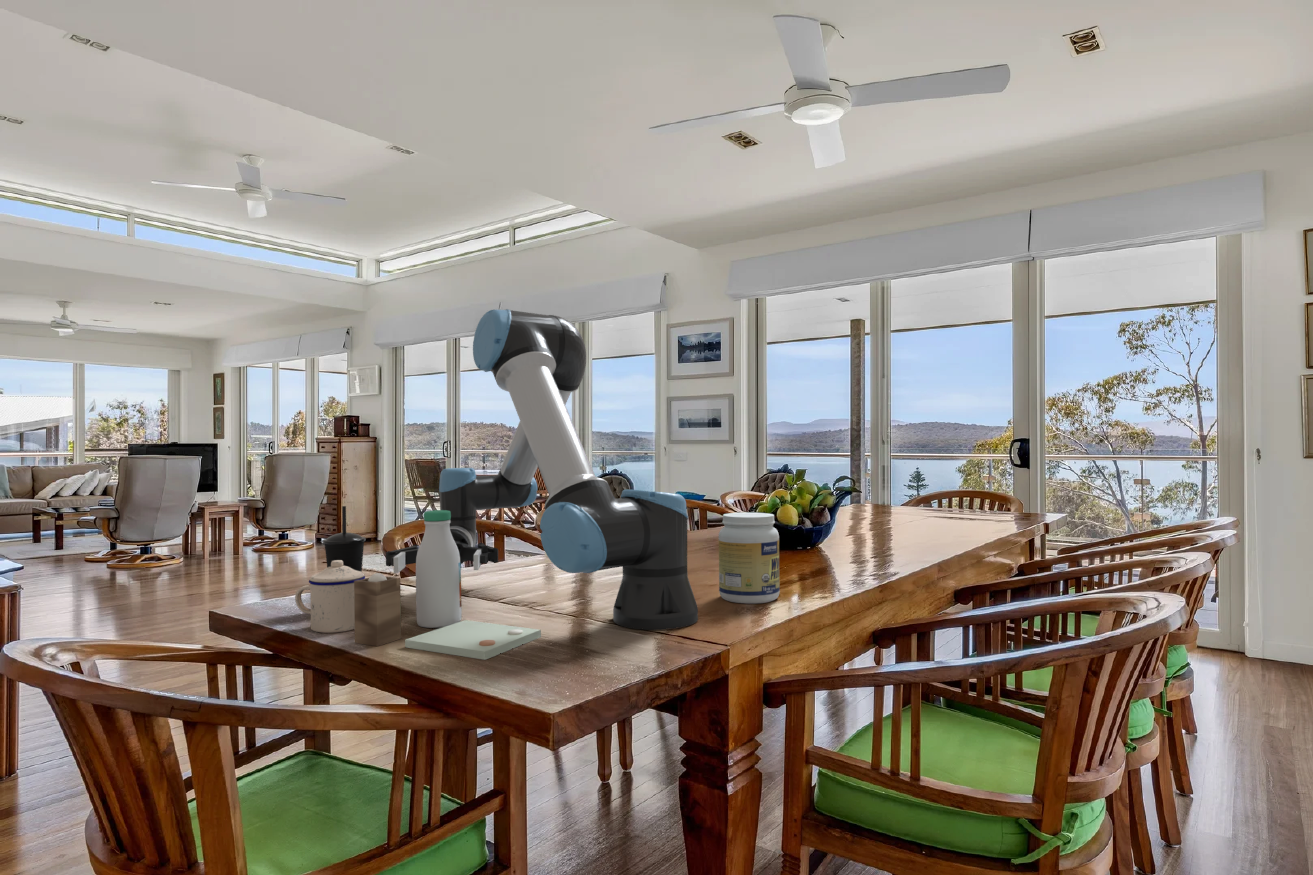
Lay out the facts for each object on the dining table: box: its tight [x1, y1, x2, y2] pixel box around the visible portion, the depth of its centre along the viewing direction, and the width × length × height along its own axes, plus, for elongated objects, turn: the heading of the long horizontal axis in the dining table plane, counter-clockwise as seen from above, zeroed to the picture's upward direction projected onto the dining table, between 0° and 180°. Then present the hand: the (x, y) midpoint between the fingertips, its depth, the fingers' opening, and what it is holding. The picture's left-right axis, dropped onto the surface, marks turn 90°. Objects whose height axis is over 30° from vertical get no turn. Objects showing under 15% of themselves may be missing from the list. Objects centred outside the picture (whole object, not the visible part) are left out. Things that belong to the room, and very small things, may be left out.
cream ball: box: [368, 572, 387, 582], centre depth 122 cm, size 3×3×3 cm
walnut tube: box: [354, 575, 402, 647], centre depth 122 cm, size 5×5×10 cm
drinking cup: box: [322, 505, 366, 572], centre depth 146 cm, size 8×8×20 cm
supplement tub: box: [718, 512, 780, 604], centre depth 151 cm, size 12×12×17 cm
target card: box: [404, 619, 542, 661], centre depth 121 cm, size 16×14×2 cm
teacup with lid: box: [294, 560, 366, 634], centre depth 132 cm, size 12×9×12 cm
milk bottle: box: [415, 509, 463, 629], centre depth 133 cm, size 8×8×20 cm
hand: (436, 563), depth 131 cm, fingers open, 13 cm apart
